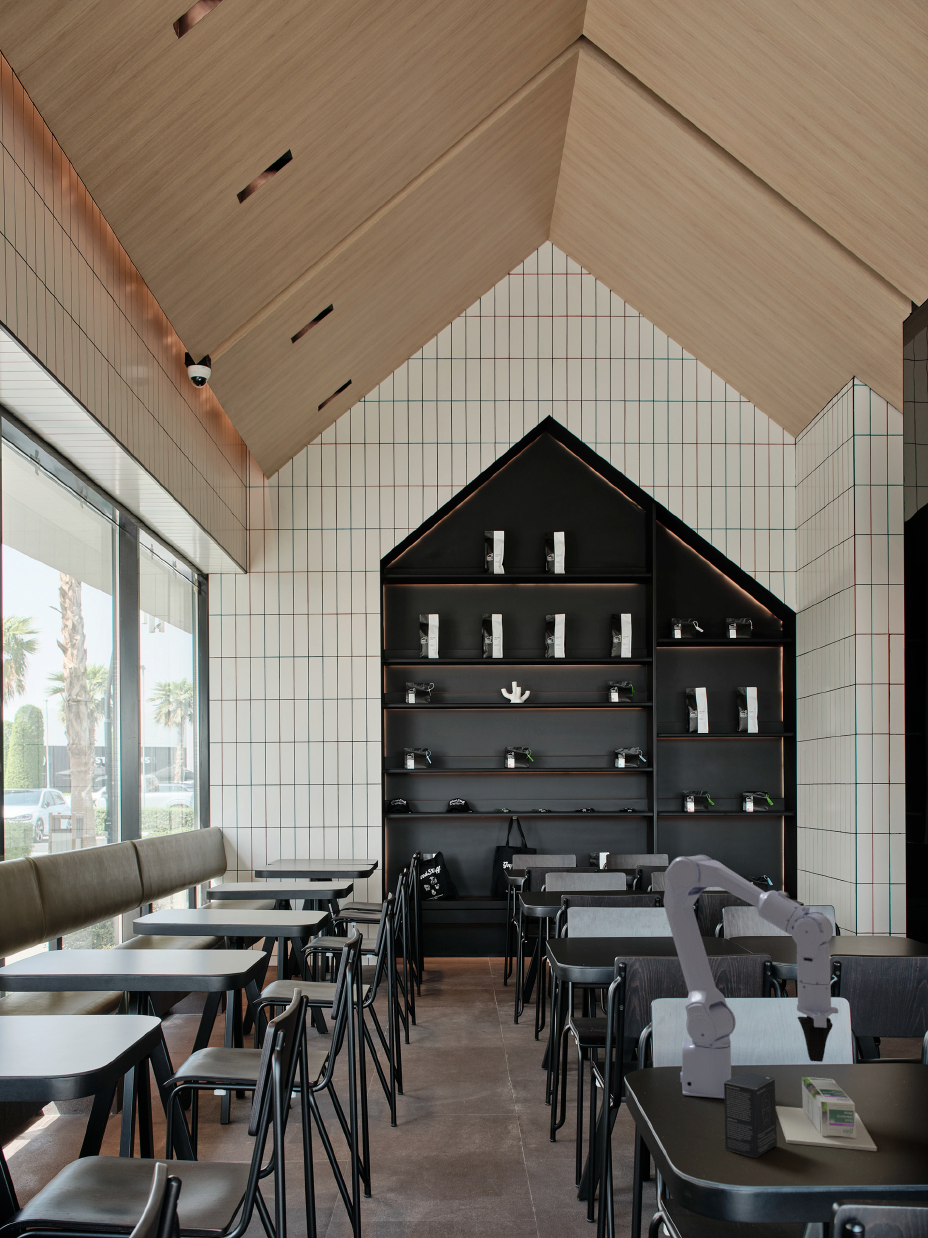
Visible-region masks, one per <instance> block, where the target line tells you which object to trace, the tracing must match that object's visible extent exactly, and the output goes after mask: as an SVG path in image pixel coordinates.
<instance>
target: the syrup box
mask: <svg viewBox="0 0 928 1238" xmlns="http://www.w3.org/2000/svg"><path fill="white" fill-rule="evenodd" d="M801 1090H802V1091H801V1092H802V1095H801V1097H802V1108H803V1110H804V1112H805V1113H806V1114H807V1116H808V1117H809V1118H810V1120H811V1121H812V1123H813V1124H814V1125H815V1127H816V1128H817V1129H818V1131H819V1132H820V1134H821V1135H822V1136H830V1137H838V1138H854V1139H856V1120H855V1113H856V1104H855V1102H854V1101H853V1100H852V1099H851V1097H849V1095H848V1094H846V1092H845V1091H844V1090H843V1089H842V1088H841V1087H840V1086H839V1085H838V1083H836V1081H835V1080H834V1079H833V1078H823V1077H821V1078H820V1077H807V1076H806V1077H805V1076H804V1077H803V1076H801Z"/></svg>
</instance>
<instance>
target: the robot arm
mask: <svg viewBox="0 0 928 1238" xmlns="http://www.w3.org/2000/svg"><path fill="white" fill-rule="evenodd" d="M664 874H665V878H666V882H665V889H664V895H663V907H664V910H665V913H666V916H667V921H668V924H669V927H670V932H671V935H672V938H673V943H674V946H675V948H676V952H677V956H678V960H679V963H680V967H681V971H682V974H683V978H684V982H685V985H686V988H687V993H688V996H687V1000H686V1003H685V1007H684V1008H685V1011H686V1016H687V1017H686V1022H685V1023H686V1024H685V1026H686V1031H687V1034H688V1036H689V1037H690V1038H691V1041H688V1040H687V1041H683V1040H682V1042H681V1071H680V1073H679V1074H680V1083H681V1084H682V1085H681V1086H682V1087H681V1088H682V1090H681V1091H682V1095H684V1096H691V1097H692V1096H693V1097H705V1098H716V1099H724V1082H725V1081H727V1080H729V1079H731V1078H732V1057H731V1056H732V1052H731V1049H732V1047H731V1039H730V1038H731V1037H730V1036H731V1034H733V1032H734V1031H735V1029H736V1023H737V1022H736V1017H735V1014H734V1012H733V1011H732V1009H731V1008H730V1007H729V1005H728V1003H727V1001H726V998H725V995H724V994H723V993H722V992H721V991H720V990H719V989H718V988H717V986H716V983H715V980H714V976H713V972H712V969H711V966H710V961H709V958H708V955H707V952H706V949H705V946H704V941H703V938H702V935H701V932H700V931H701V930H700V927H699V924H698V921H697V917H696V914H695V910H694V907H693V906H694V905H695V903H696V901H697V899H698V898H699V897H700V895H701V893H702V892H703V891H705V890H706V889H707V888H720V889H722V890H724V891H726V892H728V893H730V894H731V895H733V896H735V897H737V898H738V899H741V900H743V901H744V902H745V903H746V902H747V903H748V904H750V905H752V906H754V907H755V908H756V909H757V913H758V915H759V917H760V918H761V919H764V921H767V922H768V923H770V924H771V925H773V926H775V927H776V928H778V929H779V930H781V931H783V932H785V934H787V935H790V936H791V937H792V940H794V943H795V944H796V972H797V974H796V976H797V978H796V980H797V981H796V982H797V983H796V984H797V1004H796V1010H797V1012H799V1013H801V1014H802V1015H803V1014H804V1015H806V1016H798V1017H797V1020H798V1022H799V1024H800V1026H801V1028H802V1032H803V1036H804V1040H805V1044H806V1050H807V1055H808V1058H809V1061H811V1062H820V1063H821V1062H823V1061H824V1056H825V1050H826V1045H827V1040H828V1037H829V1034H830V1033H831V1031H832V1028H833V1027H834V1026H833V1023H832V1020H831V1018H830V1016H831V1015H832V1014H839V1009H838V1008H837V1007H835V1006H832V993H831V992H832V990H831V987H832V986H831V958H830V943H829V941H830V940H831V939H832V937H833V934H834V927H833V924H832V922H831V920H830V919H829V918H828V917H827V916H826V915H824V914H823V912H820V911H812V912H811V911H810V907H809V906H807V905H801V904H799V903H797V902H795V901H794V900H792V899H790V898H789V897H787V896H788V894H787V892H785V891H783V890H778V891H777V890H773V889H772V890H769V891H766V892H765V891H764V889H761V888H759V887H758V886H756V885H755V884H753V883H751V882H750V881H749V880H747V879H745V878H744V877H742V876H741V875H739V874H738V873H737V872H735V871H733V870H731V869H730V867H729V868H728V867H727V866H725V865H724V864H722V863H721V862H720V861H718V860H716V859H712V858H711V857H710V856H707V855H705V854H696V855H693V856H692V855H691V856H678V857H676V858H674V859H673V860H672V861H671V863H670V864H669V866H668V867H667V868H666V870H665V872H664Z"/></svg>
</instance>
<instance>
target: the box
mask: <svg viewBox="0 0 928 1238" xmlns="http://www.w3.org/2000/svg"><path fill="white" fill-rule="evenodd" d="M775 1082H776V1079H775V1077H772V1076H768V1075H761V1074H757V1073H753V1072H748V1071H744V1072H741V1073H740V1074H739V1073H738V1074H737V1075H736V1076H733V1077H731V1079H729V1080H727V1081H725V1082H724V1098H723V1099H724V1137H725V1138H724V1140H725V1141H724V1143H725V1149H726V1151H728V1152H733V1153H737V1154H741V1155H744V1156H747V1157H751V1158H755V1159H757V1158H759V1157H760V1156H762V1155H764V1154H765V1153H767V1152H769V1150H771V1149H772V1148H774V1147H776V1146H777V1145H778V1137H777V1135H778V1134H777V1132H778V1131H777V1112H776V1106H777V1105H776V1101H777V1100H776V1083H775Z"/></svg>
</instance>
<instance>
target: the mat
mask: <svg viewBox="0 0 928 1238" xmlns="http://www.w3.org/2000/svg"><path fill="white" fill-rule="evenodd" d="M776 1116H777V1117H778V1120H779V1124H780V1126H781V1128H782V1133H783V1135H784V1138H785V1139H784V1140H785V1141H786V1144H795V1145H807V1146H817V1147H827V1148H835V1149H836V1148H837V1149H838V1148H840V1149H847V1150H848V1149H849V1150H859V1151H860V1150H861V1151H871V1152H878V1147H877V1146H876V1144H875V1142H874V1141H873V1139H872V1137H871V1135H870V1134H869V1132H868V1130H867V1129H866V1127H865V1125H864V1122H862V1120H861V1118H860V1116H859V1114H858V1113H857V1112H855V1120H856V1139H854V1138H838V1137H830V1136H822V1135H821V1134H820V1132H819V1131H818V1129H817V1128H816V1127H815V1125H814V1124H813V1123H812V1121H811V1120H810V1118H809V1117H808V1116H807V1114H806V1113H805V1112H804V1110H803V1107H793V1106H792V1107H791V1106H781V1105H776Z"/></svg>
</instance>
